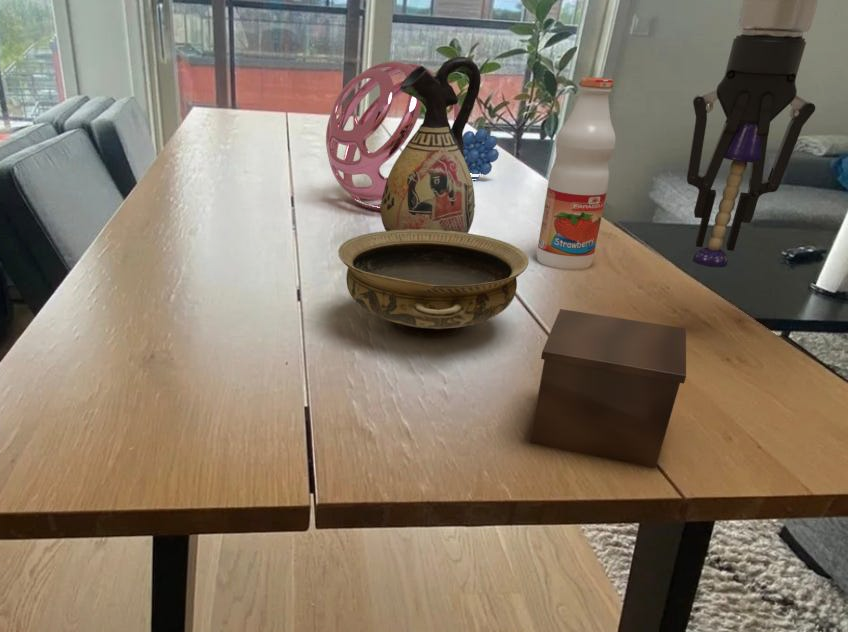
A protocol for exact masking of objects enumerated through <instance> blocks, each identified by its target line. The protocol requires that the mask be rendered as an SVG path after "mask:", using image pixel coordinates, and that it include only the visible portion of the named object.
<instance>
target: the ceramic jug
mask: <svg viewBox="0 0 848 632" xmlns="http://www.w3.org/2000/svg"><path fill="white" fill-rule="evenodd" d="M424 67H425V66H423V65H420V66H419V67H418V68H416V69H415V70H413V71H412V72H411V73H410V74H409V75H408V76H407V78H406V77H405V78H404V80H402V81H403V82H402V81H401V82H402V84H401V87H400V90H401V91H402V92H404V93H403V94H406V95H408V96H409V95H411V96H412V97H414V98H416V99H417V100H419V101H421V102H422V105H423V107H425V111H424V112H425V113H424V117H423V121H422V123H421V124H420V125H419V128H417V130H416V131H415V133H414V134H413V135H412V137H411V138H410V140H409V141H408V142H407V143H406V145H405V147H404V148H403V150H401V152H400V153H399V155H398V157H397V158H396V160H395V162H394V163H393V166H392V167H391V169H390V171H389V174H388V177H387V178H388V179H387V182H386V185H385V188H384V192H383V196H382V200H380V204H381V207H380V211H379V212H380V218H381V223H382V225H383V228H384V231H386V232H387V231H392V230H406V229H429V230H443V231H456V232H463V233H470V232H469V231H470V230H471V227H472V225H473V222H474V218H475V217H474V216H475V208H476V200H475V198H476V197H475V189H474V188H475V187H474V181H472V178H471V175H470V172H469V170H468V167H467V164H466V162H465V159H464V152H463V135H464V130H465V127H466V125H467V123H468V122H469V119H470V116H471V113H472V110H473V108H474V106H475V103H476V100H477V98H478V96H479V94H480V88H481V78H482V77H481V72H480V69H479V66H478V65H477V63H475V62H474V60H472V59H471V58H469V57H467V56H456V57H452V58H450V59H448V60H445V61H444V62H443V63H442V65H441V66H440V67H439V69H438V71H437V72H436V74H435V75H436V76H435V77H433V76H432V75H431V74H430V73H429V72H428V71H427V70H426V69H425V68H426V67H425V68H424ZM454 73H459V74H463V75H465V76H466V77H467V78H468V82H469V83H468V87H467V90H466V94H465V96H464V98H463V101H462V104H461V106H460V111H459V113H458V115H457V118H456V119H455V121H454V120H453V123H452V125H450V122H449V118H448V114H447V108H448V107H450V106H453V105H455V104H457V103H458V102H459V98H458V96H457V94H456V92H455V90H454V88H453V86H452V84H450V83H449V81H448V77H449V76H450V75H451V74H454Z"/></svg>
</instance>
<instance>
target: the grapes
mask: <svg viewBox="0 0 848 632" xmlns="http://www.w3.org/2000/svg"><path fill="white" fill-rule="evenodd" d="M488 135H489V132H488V131H487V130H486V128H480V129H477V131H476V132H475V133H474V131H472V130H467V131H466V132H463V135H462V137H463V152H464V159H465V162H466V164H467V167H468V170H469V172H470V173H472V174H480V175H482V174H483V175H482V176H486V175H488V174H490V173H491V172H492V167H493V165H492V163H495V162H496V161H497V160H498V158H499V156H500V153H499V150H498V149H497V148H495V147H496V146H497V144H498V138H497V136H495V135H489V136H488ZM471 178H472V179H477V180H478V179H479V178H480V176H479V177H471Z"/></svg>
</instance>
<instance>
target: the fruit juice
mask: <svg viewBox="0 0 848 632" xmlns="http://www.w3.org/2000/svg"><path fill="white" fill-rule="evenodd" d="M578 85H579V88H578V90H579V96H578V97H577V100H576V102H575V104H574V107H573V109H572V111H571V113H570V115H569V116H568V118H567V120H566V121H565V122H564V124H563V125H562V126H561V127H560V129H559V130H558V132H557V136H556V138H555V139H556V140H555V153H556V157H555V162H554V164H553V165H552V167H551V170H550V172H549V178H548V182H547V189H546V195H545V201H544V207H543V212H542V219H541V225H540V231H539V238H538V243H537V250H536V261H538V262H539V263H540V264H541V265H544V266H546V267H549V268H555V269H559V270H570V271H571V270H575V271H576V270H584V269H588V268H589V267H591V265H592V263H593V260H594V256H595V251H596V246H597V241H598V236H599V232H600V226H601V221H602V216H603V212H604V211H603V210H604V207H605V202H606V197H607V193H608V188H609V180H610V171H609V170H610V169H609V163H610V160H611V158H612V156H613V153H614V151H615V149H616V143H617V142H616V141H617V136H616V133H615V129H614V127H613V124H612V119H611V118H612V117H611V111H610V99H609V97H610V93H611V92H612V89H613V87H614V79H611V78H605V77H595V76H594V77H593V76H592V77H591V76H583V77H581V78H580V80H579V84H578Z"/></svg>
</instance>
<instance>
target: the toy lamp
mask: <svg viewBox="0 0 848 632" xmlns="http://www.w3.org/2000/svg"><path fill="white" fill-rule="evenodd" d="M757 130H758V124H750V123H746V124H744V125H738V126H737V129H736V131H735V133H734V135H733V137H732V140H731V142H730V144H729V147H728V149H727V152H726V154H725V156H724V159H725V160H729V161H732V162H731V163H730V166H729V168H730V169H729V171H730V173H729V174H728V175H727V177H726V182H725V183H726V186H724V188H723V191H722V199H720V201H719V204H718V212H717V213H716V215H715V217H714V224H713V226H712V228H711V232H710V235H711V236H710V237H709V239H708V241H707V247H702V248H701V249H699V250H698V251H696V253H695V254H694V256H693V258H692V261H693V263H695V264H697V265H700V266H703V267H707V268H708V267H709V268H719V269H720V268H726V267H727V266H728V262H729V261H728V256H727V254H726V252H724V251H723V249H721V248H722V247H723V244H724V237H725V236H726V234H727V232H728V226H729V223H730V222H731V218H732V212H733V210H734V209H735V206H736V199H737V198H738V196H739V192H740V186H741V185H742V182H743V180H744V173H745V171H746V170H747V167H748V163H750V164H751V163H758V162H759V161H760V158H761V137H760V136H759V135H757Z"/></svg>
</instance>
